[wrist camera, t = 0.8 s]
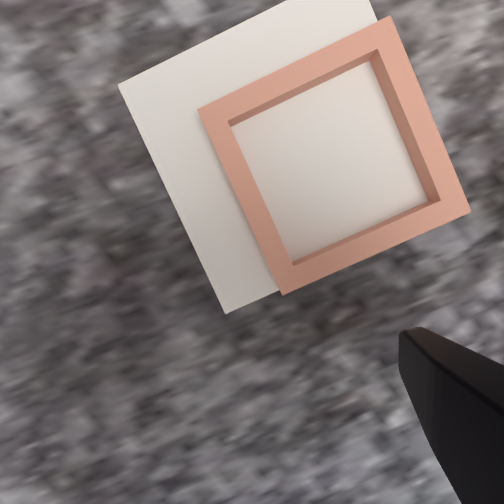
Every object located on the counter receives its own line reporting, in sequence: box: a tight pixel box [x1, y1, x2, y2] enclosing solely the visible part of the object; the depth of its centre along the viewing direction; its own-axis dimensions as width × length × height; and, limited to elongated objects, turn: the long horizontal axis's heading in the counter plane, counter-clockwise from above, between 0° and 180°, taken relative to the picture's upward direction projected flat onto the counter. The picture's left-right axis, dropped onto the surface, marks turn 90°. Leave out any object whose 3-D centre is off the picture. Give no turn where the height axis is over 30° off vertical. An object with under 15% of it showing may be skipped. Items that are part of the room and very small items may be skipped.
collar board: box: [118, 0, 472, 314], centre depth 20 cm, size 12×12×2 cm
